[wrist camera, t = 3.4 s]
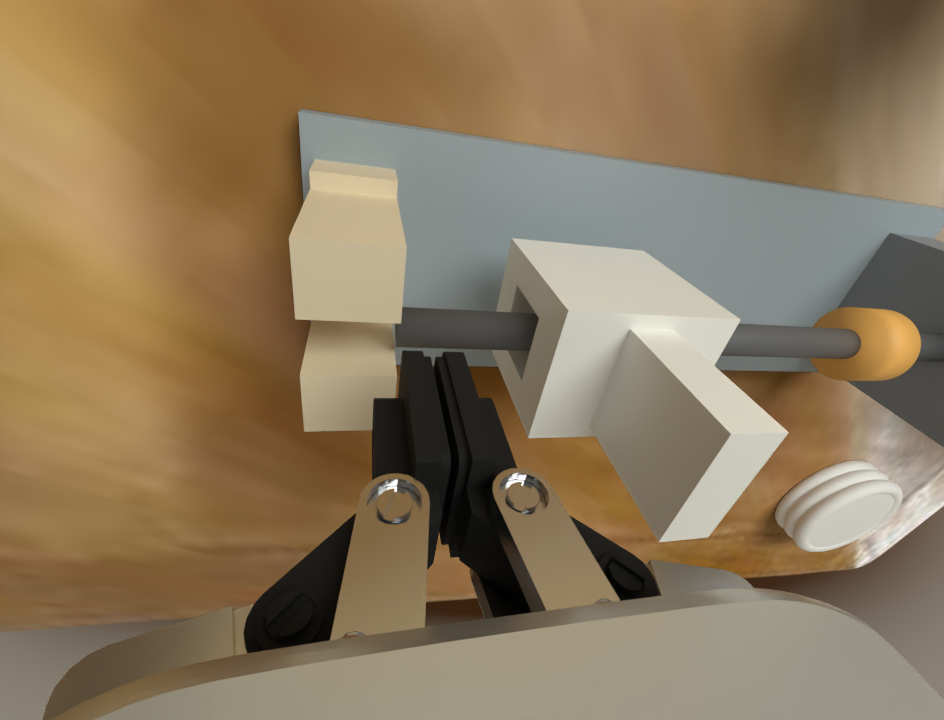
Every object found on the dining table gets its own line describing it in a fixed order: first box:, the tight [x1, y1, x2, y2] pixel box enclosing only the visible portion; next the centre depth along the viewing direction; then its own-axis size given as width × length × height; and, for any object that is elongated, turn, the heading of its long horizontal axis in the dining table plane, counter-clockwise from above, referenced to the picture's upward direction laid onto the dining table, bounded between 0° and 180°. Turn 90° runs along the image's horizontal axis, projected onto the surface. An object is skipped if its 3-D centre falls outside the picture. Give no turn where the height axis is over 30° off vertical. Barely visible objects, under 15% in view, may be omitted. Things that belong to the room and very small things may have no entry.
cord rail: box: [289, 109, 944, 447], centre depth 18 cm, size 34×11×12 cm, turn 81°
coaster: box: [775, 460, 903, 552], centre depth 41 cm, size 10×10×4 cm
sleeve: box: [491, 238, 789, 542], centre depth 15 cm, size 6×5×10 cm
